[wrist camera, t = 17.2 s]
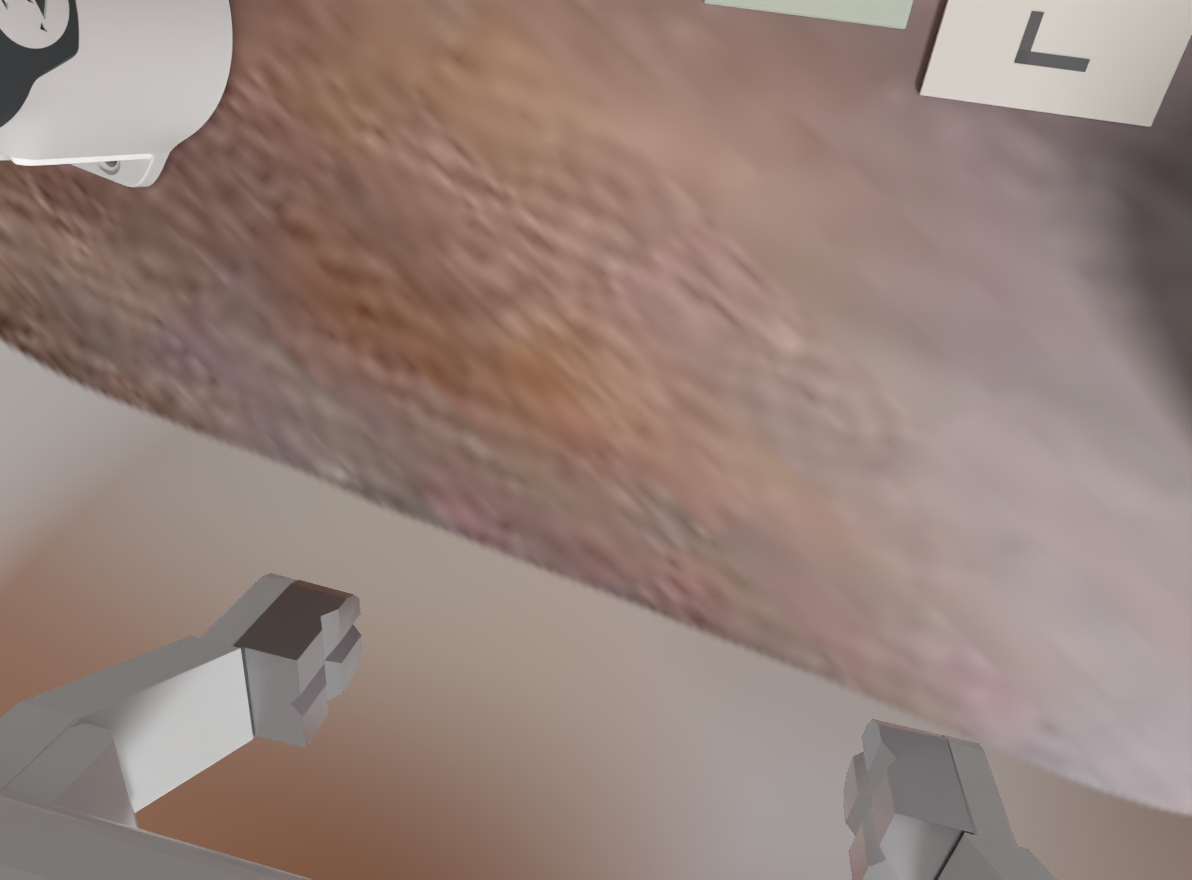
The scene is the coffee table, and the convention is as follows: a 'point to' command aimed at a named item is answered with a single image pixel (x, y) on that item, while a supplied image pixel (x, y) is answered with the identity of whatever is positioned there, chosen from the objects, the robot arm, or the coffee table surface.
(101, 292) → the coffee table surface
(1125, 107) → the tile
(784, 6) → the coaster
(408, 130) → the coffee table surface
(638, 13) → the coffee table surface
